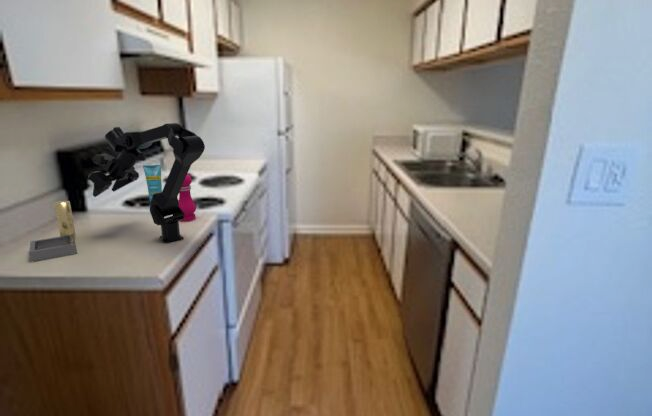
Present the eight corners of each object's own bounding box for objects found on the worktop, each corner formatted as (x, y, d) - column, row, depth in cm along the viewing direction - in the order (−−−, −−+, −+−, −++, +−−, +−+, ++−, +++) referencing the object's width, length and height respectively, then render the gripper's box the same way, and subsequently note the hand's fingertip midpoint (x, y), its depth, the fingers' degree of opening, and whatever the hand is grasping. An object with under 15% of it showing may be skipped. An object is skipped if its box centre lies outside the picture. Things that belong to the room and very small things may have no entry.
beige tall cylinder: (76, 239, 130) (69, 202, 127) (61, 242, 128) (53, 204, 124) (76, 236, 134) (69, 200, 130) (60, 238, 131) (53, 201, 128)
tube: (147, 210, 166) (141, 166, 161) (149, 207, 171) (143, 164, 165) (165, 209, 168) (160, 165, 163) (167, 206, 172) (162, 163, 167)
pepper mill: (184, 223, 148) (179, 171, 142) (174, 219, 152) (168, 169, 147) (200, 218, 153) (196, 169, 148) (190, 215, 157) (185, 167, 152)
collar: (77, 253, 118) (75, 244, 117) (31, 262, 112) (29, 252, 111) (75, 242, 127) (73, 234, 126) (32, 250, 121) (30, 241, 120)
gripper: (126, 143, 140) (105, 173, 145) (87, 147, 123) (64, 182, 127) (149, 163, 141) (127, 193, 146) (113, 171, 123) (90, 205, 128)
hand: (103, 193), depth 136 cm, fingers open, 9 cm apart
